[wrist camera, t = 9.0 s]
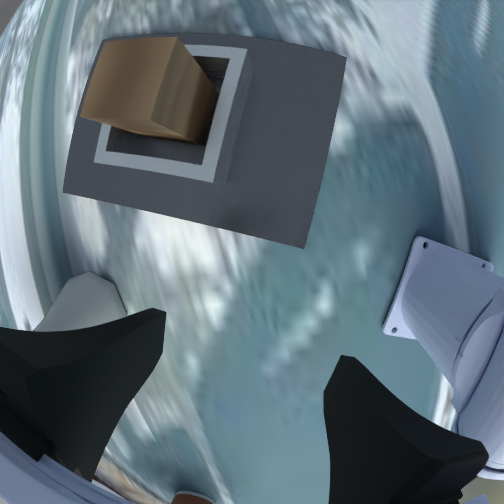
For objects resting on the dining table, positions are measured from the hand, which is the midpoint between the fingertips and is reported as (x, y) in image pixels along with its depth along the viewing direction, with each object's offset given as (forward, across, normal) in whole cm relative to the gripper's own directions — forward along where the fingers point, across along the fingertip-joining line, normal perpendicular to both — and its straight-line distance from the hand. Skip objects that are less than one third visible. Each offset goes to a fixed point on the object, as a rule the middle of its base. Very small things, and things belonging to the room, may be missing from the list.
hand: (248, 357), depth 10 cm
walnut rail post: (+9, +8, -10) cm, 16 cm away
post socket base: (+10, +8, -10) cm, 16 cm away
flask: (+10, +14, +7) cm, 19 cm away
